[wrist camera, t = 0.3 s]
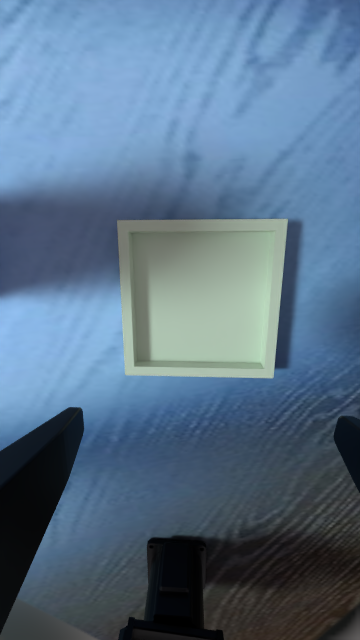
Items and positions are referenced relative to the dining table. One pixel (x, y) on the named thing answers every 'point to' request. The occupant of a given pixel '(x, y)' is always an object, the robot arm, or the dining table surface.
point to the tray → (201, 296)
